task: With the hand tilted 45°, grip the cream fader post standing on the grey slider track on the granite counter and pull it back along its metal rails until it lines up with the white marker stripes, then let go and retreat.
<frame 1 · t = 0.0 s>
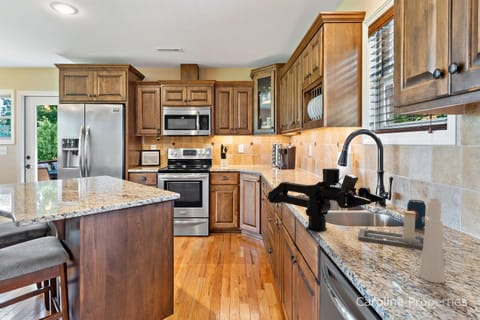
hand: (377, 200, 97), 17 cm above the countertop, tool horizontal, fingers open, 9 cm apart
grey slider track: (408, 242, 102), on the countertop
fader: (409, 225, 102), point 6 cm above the countertop, slide at 0.0 cm
soda can: (415, 227, 122), on the countertop
cosmetic bottle: (431, 278, 74), on the countertop
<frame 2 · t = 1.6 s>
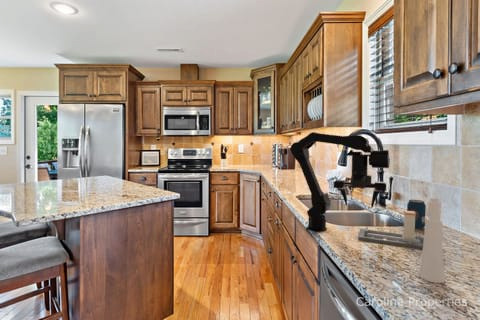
hand: (358, 206, 108), 12 cm above the countertop, tool pointing down, fingers open, 9 cm apart
nothing on the countertop moved.
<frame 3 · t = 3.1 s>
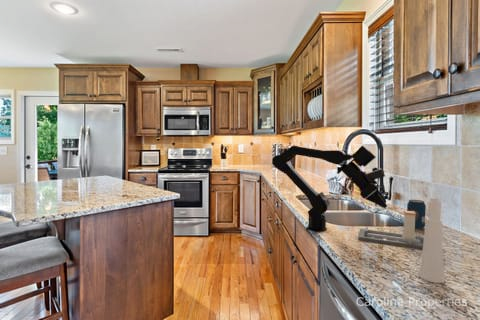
hand: (385, 204, 105), 13 cm above the countertop, tool tilted 45°, fingers open, 9 cm apart
nothing on the countertop moved.
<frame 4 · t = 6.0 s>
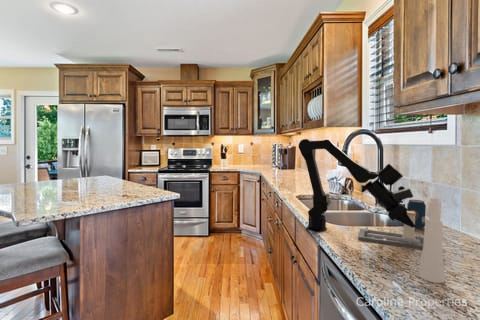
hand: (413, 225, 101), 7 cm above the countertop, tool tilted 45°, fingers closed on fader, 3 cm apart
fader: (409, 225, 102), point 6 cm above the countertop, slide at 0.0 cm, touching gripper
everything else where it was.
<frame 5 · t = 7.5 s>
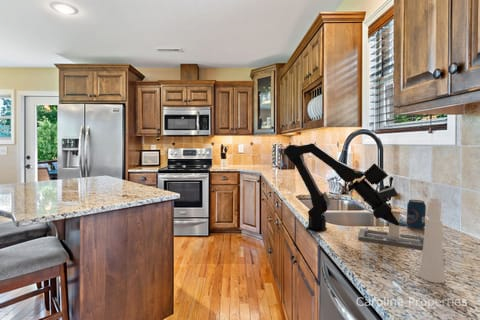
hand: (398, 223, 103), 7 cm above the countertop, tool tilted 45°, fingers closed on fader, 3 cm apart
fader: (394, 223, 104), point 6 cm above the countertop, slide at 4.9 cm, touching gripper
everything else where it was.
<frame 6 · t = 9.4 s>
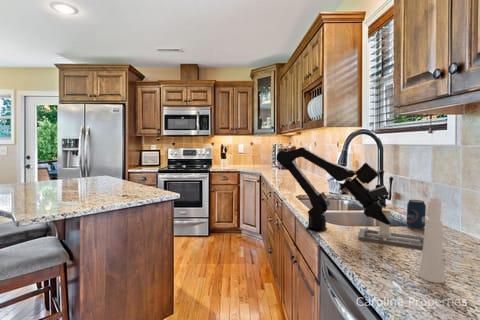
hand: (389, 222, 105), 7 cm above the countertop, tool tilted 45°, fingers open, 6 cm apart
fader: (384, 222, 105), point 6 cm above the countertop, slide at 8.1 cm
everything else where it was.
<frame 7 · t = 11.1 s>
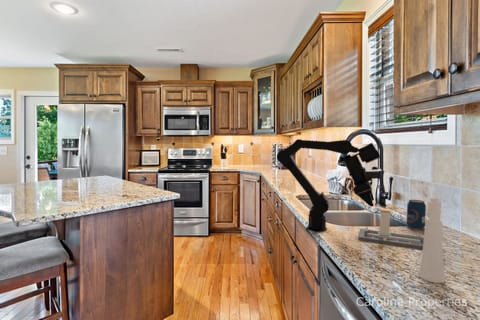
hand: (372, 203, 110), 13 cm above the countertop, tool tilted 25°, fingers open, 9 cm apart
nothing on the countertop moved.
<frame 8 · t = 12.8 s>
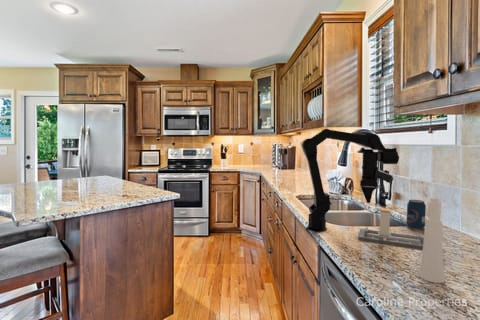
hand: (368, 200, 115), 13 cm above the countertop, tool pointing down, fingers open, 9 cm apart
nothing on the countertop moved.
at the end: fader slide at 8.1 cm; the gripper is holding nothing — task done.
